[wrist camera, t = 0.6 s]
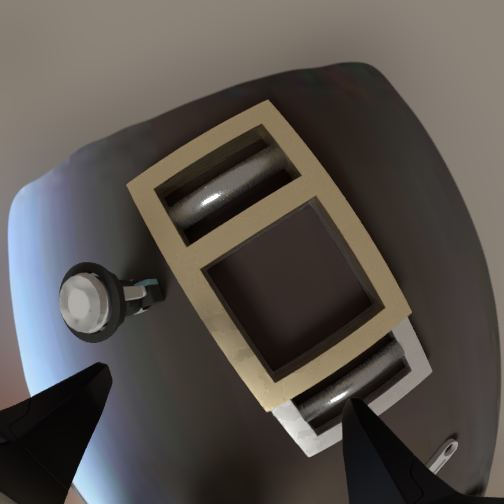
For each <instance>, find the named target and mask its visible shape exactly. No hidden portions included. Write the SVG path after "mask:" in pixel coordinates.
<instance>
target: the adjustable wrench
mask: <svg viewBox="0 0 504 504" xmlns="http://www.w3.org/2000/svg"><path fill="white" fill-rule="evenodd" d="M451 444H452V445H451ZM449 445H451V447H450V448H449V449H448V450H447V451H446V452H445V450H446V449H447V447H448V446H449ZM457 446H458V442H456V441H455V440H454V439H449V440H447V441H446V442H445V443H444V444H443V445H442V446H441V447H440V449H439V450H438V451H437V452H436V454H435V455H434V456H433V457H432V458H431V460H430V461H429V462H428V463H427V464H426V465H425V466H426V467H427V468H428V469H429V470H431V471H432V472H433V473H434V474H436V473H437V472H438V471H439V469H440V468H441V467H442V466H443V465H444V464H445V462H446V461H447V460H448V459H449V458H450V456H451V455H452V454H453V453H454V451H455V450H456V449H457Z"/></svg>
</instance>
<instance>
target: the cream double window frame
mask: <svg viewBox="0 0 504 504" xmlns="http://www.w3.org/2000/svg"><path fill="white" fill-rule="evenodd" d="M260 139H262V140H263V141H264V142H265V144H266V145H267V146H268V147H267V148H265V149H263V150H262V151H260V152H258V153H256V154H254V155H253V156H251V157H249V158H248V159H246V160H244V161H242V162H241V163H239V164H237V165H236V166H234V167H232V168H231V169H229V170H227V171H226V172H224V173H222V174H221V175H219V176H217V177H216V178H214V179H213V180H211V181H209V182H208V183H206V184H205V185H203V186H201V187H200V188H198V189H197V190H195V191H194V192H192V193H191V194H189V195H187V196H186V197H184V198H183V199H181V200H180V201H178V202H177V203H175V204H174V205H172V206H171V207H169V206H168V204H167V202H166V200H165V199H164V198H166V197H167V196H169V195H170V194H172V193H173V192H175V191H176V190H178V189H179V188H181V187H182V186H184V185H185V184H187V183H188V182H190V181H191V180H193V179H194V178H196V177H198V176H199V175H201V174H202V173H204V172H206V171H207V170H209V169H210V168H212V167H214V166H215V165H217V164H219V163H220V162H222V161H224V160H225V159H227V158H229V157H230V156H232V155H234V154H236V153H237V152H239V151H241V150H243V149H244V148H246V147H248V146H250V145H251V144H253V143H255V142H257V141H259V140H260ZM282 169H285V170H286V172H287V173H288V175H289V176H290V177H291V179H292V180H293V181H292V182H290V183H289V184H287V185H285V186H284V187H282V188H280V189H279V190H277V191H275V192H274V193H272V194H270V195H269V196H267V197H266V198H264V199H262V200H261V201H259V202H257V203H256V204H254V205H253V206H251V207H249V208H248V209H246V210H245V211H243V212H241V213H240V214H238V215H237V216H235V217H233V218H232V219H230V220H229V221H227V222H226V223H224V224H222V225H221V226H219V227H218V228H216V229H215V230H213V231H211V232H210V233H208V234H207V235H205V236H204V237H202V238H201V239H199V240H198V241H196V242H195V243H193V244H192V245H191V243H190V242H189V240H188V238H187V237H186V235H185V233H184V232H183V231H184V230H186V229H187V228H189V227H190V226H192V225H193V224H195V223H196V222H198V221H199V220H201V219H202V218H204V217H205V216H207V215H209V214H210V213H212V212H213V211H215V210H216V209H218V208H220V207H221V206H223V205H224V204H226V203H227V202H229V201H231V200H232V199H234V198H235V197H237V196H239V195H240V194H242V193H244V192H245V191H247V190H248V189H250V188H252V187H253V186H255V185H257V184H258V183H260V182H262V181H263V180H265V179H267V178H268V177H270V176H272V175H274V174H275V173H277V172H279V171H280V170H282ZM127 187H128V189H129V191H130V193H131V195H132V198H133V200H134V202H135V203H136V205H137V207H138V209H139V211H140V213H141V215H142V217H143V219H144V221H145V223H146V225H147V227H148V229H149V230H150V232H151V234H152V236H153V238H154V240H155V241H156V243H157V245H158V247H159V249H160V251H161V252H162V254H163V256H164V258H165V259H166V261H167V263H168V265H169V266H170V268H171V270H172V272H173V273H174V275H175V277H176V278H177V280H178V282H179V283H180V285H181V287H182V288H183V290H184V292H185V293H186V295H187V297H188V298H189V300H190V302H191V303H192V305H193V306H194V308H195V310H196V311H197V313H198V314H199V316H200V318H201V319H202V321H203V322H204V324H205V325H206V327H207V328H208V330H209V332H210V333H211V335H212V336H213V338H214V339H215V341H216V342H217V344H218V345H219V347H220V348H221V350H222V351H223V352H224V354H225V355H226V357H227V358H228V360H229V361H230V363H231V364H232V365H233V367H234V368H235V370H236V371H237V373H238V374H239V375H240V377H241V378H242V380H243V381H244V382H245V384H246V385H247V386H248V388H249V389H250V391H251V392H252V393H253V395H254V396H255V397H256V399H257V400H258V401H259V403H260V404H261V405H262V407H263V408H264V409H265V410H266V412H268V411H270V410H271V411H272V413H273V414H274V415H275V417H276V418H277V419H278V420H279V422H280V423H281V424H282V425H283V427H284V428H285V429H286V431H287V432H288V433H289V434H290V435H291V437H292V438H293V439H294V440H295V442H296V443H297V444H298V445H299V446H300V448H301V449H302V450H303V451H304V452H305V454H306V455H307V456H308V457H311V456H313V455H315V454H317V453H319V452H320V451H322V450H324V449H326V448H328V447H330V446H331V445H333V444H335V443H336V442H338V441H340V440H342V413H341V414H339V415H338V416H336V417H335V418H333V419H331V420H330V421H328V422H326V423H325V424H323V425H321V426H319V427H318V428H316V429H314V427H313V426H312V425H311V423H310V422H309V421H311V420H313V419H314V418H316V417H318V416H319V415H321V414H323V413H324V412H326V411H328V410H329V409H331V408H333V407H334V406H336V405H337V404H339V403H340V402H342V401H343V400H345V399H347V398H348V397H350V396H351V395H352V394H354V393H355V392H357V391H358V390H360V389H361V388H363V387H364V386H365V385H367V384H368V383H370V382H371V381H372V380H374V379H375V378H376V377H378V376H379V375H380V374H382V373H383V372H384V371H386V370H387V369H388V368H389V367H391V366H392V365H393V364H394V363H396V362H397V361H398V360H399V359H400V358H401V359H402V361H403V363H404V365H405V367H404V368H403V369H402V370H401V371H399V372H398V373H397V374H396V375H394V376H393V377H392V378H391V379H389V380H388V381H387V382H385V383H384V384H383V385H381V386H380V387H379V388H377V389H376V390H375V391H373V392H372V393H371V394H369V395H368V396H366V397H365V398H363V399H362V400H363V401H364V402H365V403H366V404H367V405H368V406H369V407H370V408H371V409H372V410H373V411H374V413H375V414H376V415H377V416H378V415H380V414H381V413H382V412H384V411H385V410H387V409H388V408H389V407H391V406H392V405H393V404H394V403H396V402H397V401H398V400H400V399H401V398H402V397H403V396H405V395H406V394H407V393H408V392H410V391H411V390H412V389H413V388H414V387H416V386H417V385H418V384H419V383H420V382H421V381H423V380H424V379H425V378H426V377H427V376H428V375H429V374H430V373H431V372H432V369H431V367H430V365H429V362H428V360H427V358H426V355H425V353H424V351H423V349H422V347H421V344H420V342H419V340H418V338H417V336H416V334H415V332H414V329H413V327H412V325H411V323H410V321H409V319H408V317H407V316H409V315H410V314H411V313H412V311H411V309H410V307H409V305H408V303H407V301H406V299H405V297H404V295H403V294H402V292H401V290H400V288H399V286H398V284H397V282H396V280H395V279H394V277H393V275H392V273H391V271H390V270H389V268H388V266H387V264H386V263H385V261H384V259H383V257H382V256H381V254H380V252H379V251H378V249H377V247H376V246H375V244H374V242H373V241H372V239H371V237H370V236H369V234H368V233H367V231H366V229H365V228H364V226H363V225H362V223H361V221H360V220H359V218H358V217H357V215H356V214H355V212H354V211H353V209H352V208H351V206H350V205H349V203H348V202H347V200H346V199H345V197H344V196H343V194H342V193H341V192H340V190H339V189H338V187H337V186H336V184H335V183H334V182H333V180H332V179H331V177H330V176H329V175H328V173H327V172H326V171H325V169H324V168H323V167H322V165H321V164H320V162H319V161H318V160H317V159H316V157H315V156H314V155H313V153H312V152H311V151H310V149H309V148H308V147H307V146H306V144H305V143H304V142H303V140H302V139H301V138H300V137H299V135H298V134H297V133H296V132H295V131H294V129H293V128H292V127H291V126H290V124H289V123H288V122H287V121H286V120H285V119H284V117H283V116H282V115H281V114H280V113H279V111H278V110H277V109H276V108H275V107H274V106H273V105H272V103H271V102H270V101H269V100H266V101H264V102H262V103H260V104H258V105H256V106H254V107H252V108H250V109H248V110H246V111H244V112H242V113H240V114H238V115H236V116H234V117H232V118H230V119H229V120H227V121H225V122H223V123H221V124H220V125H218V126H216V127H214V128H212V129H211V130H209V131H207V132H206V133H204V134H202V135H200V136H199V137H197V138H195V139H194V140H192V141H190V142H189V143H187V144H186V145H184V146H182V147H181V148H179V149H178V150H176V151H174V152H173V153H171V154H170V155H168V156H167V157H165V158H164V159H162V160H161V161H159V162H158V163H156V164H155V165H153V166H152V167H150V168H149V169H148V170H146V171H145V172H143V173H142V174H140V175H139V176H138V177H136V178H135V179H133V180H132V181H131V182H129V183H128V184H127ZM308 205H310V206H311V207H312V209H313V210H314V212H315V213H316V215H317V216H318V218H319V219H320V221H321V222H322V224H323V225H324V227H325V228H326V230H327V231H328V233H329V234H330V236H331V237H332V239H333V241H334V242H335V244H336V245H337V247H338V248H339V250H340V252H341V253H342V255H343V256H344V258H345V260H346V261H347V263H348V264H349V266H350V268H351V269H352V271H353V273H354V274H355V276H356V278H357V279H358V281H359V283H360V284H361V286H362V288H363V289H364V291H365V293H366V295H367V296H368V298H369V300H370V302H371V303H372V305H371V306H370V307H369V308H367V309H366V310H365V311H363V312H362V313H361V314H359V315H358V316H357V317H355V318H354V319H353V320H351V321H350V322H349V323H347V324H346V325H344V326H343V327H342V328H340V329H339V330H337V331H336V332H334V333H333V334H332V335H330V336H329V337H327V338H326V339H324V340H323V341H321V342H320V343H318V344H317V345H315V346H314V347H312V348H311V349H309V350H308V351H306V352H304V353H303V354H301V355H300V356H298V357H296V358H295V359H293V360H292V361H290V362H288V363H287V364H285V365H283V366H282V367H280V368H278V369H277V370H275V371H272V369H271V368H270V366H269V365H268V364H267V362H266V361H265V359H264V358H263V356H262V355H261V353H260V352H259V350H258V349H257V347H256V346H255V344H254V343H253V341H252V340H251V339H250V337H249V336H248V334H247V333H246V331H245V329H244V328H243V326H242V325H241V323H240V322H239V320H238V319H237V317H236V316H235V314H234V313H233V311H232V310H231V308H230V306H229V305H228V303H227V302H226V300H225V299H224V297H223V296H222V294H221V292H220V291H219V289H218V288H217V286H216V284H215V283H214V281H213V280H212V278H211V276H210V275H209V273H208V272H207V270H208V269H209V268H211V267H212V266H214V265H216V264H217V263H219V262H220V261H222V260H223V259H225V258H226V257H228V256H230V255H231V254H233V253H234V252H236V251H237V250H239V249H240V248H242V247H244V246H245V245H247V244H248V243H250V242H251V241H253V240H255V239H256V238H258V237H259V236H261V235H262V234H264V233H266V232H267V231H269V230H270V229H272V228H273V227H275V226H277V225H278V224H280V223H281V222H283V221H285V220H286V219H288V218H289V217H291V216H292V215H294V214H296V213H297V212H299V211H300V210H302V209H304V208H305V207H307V206H308ZM387 333H388V334H389V336H390V338H391V340H392V341H391V342H389V343H388V344H387V345H386V346H384V347H383V348H382V349H381V350H379V351H378V352H377V353H375V354H374V355H373V356H371V357H370V358H369V359H367V360H366V361H365V362H363V363H362V364H361V365H359V366H358V367H356V368H355V369H354V370H352V371H351V372H349V373H348V374H346V375H345V376H343V377H342V378H341V379H339V380H338V381H336V382H335V383H333V384H331V385H330V386H328V387H327V388H325V389H324V390H322V391H320V392H319V393H317V394H316V395H314V396H312V397H311V398H309V399H307V400H306V401H304V402H302V403H301V404H299V405H297V404H296V403H295V402H294V400H293V399H292V398H293V397H295V396H297V395H298V394H300V393H302V392H304V391H305V390H307V389H309V388H310V387H312V386H313V385H315V384H317V383H318V382H320V381H321V380H323V379H324V378H326V377H328V376H329V375H331V374H332V373H334V372H335V371H337V370H338V369H340V368H341V367H343V366H344V365H345V364H347V363H348V362H350V361H351V360H353V359H354V358H355V357H357V356H358V355H359V354H361V353H362V352H364V351H365V350H366V349H368V348H369V347H370V346H372V345H373V344H374V343H376V342H377V341H378V340H379V339H381V338H382V337H383V336H384V335H386V334H387Z"/></svg>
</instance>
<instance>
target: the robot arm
mask: <svg viewBox="0 0 504 504" xmlns="http://www.w3.org/2000/svg"><path fill="white" fill-rule="evenodd" d="M111 386H112V376H111V373H110V370H109V367H108V365H107V364H104V363H101V362H97V363H95V364H93V365H91V366H89V367H87V368H86V369H84V370H82V371H80V372H78V373H76V374H74V375H72V376H71V377H69V378H67V379H65V380H63V381H61V382H59V383H57V384H55V385H54V386H52V387H50V388H48V389H46V390H44V391H42V392H40V393H38V394H36V395H34V396H32V398H31V397H30V398H28V399H26V400H24V401H22V402H20V403H18V404H16V405H14V406H11V407H9V408H6V409H3V410H1V411H0V504H64V502H65V499H66V496H67V494H68V490H69V488H70V486H71V483H72V481H73V478H74V476H75V473H76V471H77V469H78V466H79V464H80V461H81V459H82V457H83V454H84V452H85V450H86V448H87V445H88V443H89V441H90V439H91V436H92V434H93V432H94V430H95V428H96V425H97V423H98V421H99V419H100V417H101V414H102V412H103V409H104V406H105V403H106V400H107V397H108V394H109V391H110V389H111ZM342 446H343V456H344V463H345V471H346V478H347V486H348V494H349V503H350V504H504V498H497V497H479V496H468V495H464V494H461V493H459V492H457V491H456V490H454V489H453V488H452V487H451V486H449V485H448V484H447V483H445V482H444V481H443V480H442V479H440V478H439V477H438V476H437V475H435V474H434V473H433V472H432V471H431V470H429V469H428V468H427V467H426V466H425V465H424V464H423V463H422V462H421V461H420V460H419V459H418V458H417V457H416V456H414V454H413V453H412V452H411V451H410V450H409V449H408V448H407V446H406V445H405V444H404V443H403V442H402V441H401V440H400V439H399V438H398V437H397V436H396V435H395V434H394V433H393V432H392V431H391V430H390V429H389V427H388V426H387V425H386V424H385V423H384V422H383V421H382V420H381V419H380V418H379V417H378V416H377V415H376V414H375V413H374V411H373V410H372V409H371V408H370V407H369V406H368V405H367V404H366V403H365V402H364V401H363V400H362V399H361V398H360V397H350V398H349V399H348V400H347V402H346V404H345V406H344V408H343V411H342Z"/></svg>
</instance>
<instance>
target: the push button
mask: <svg viewBox="0 0 504 504" xmlns="http://www.w3.org/2000/svg"><path fill="white" fill-rule="evenodd" d="M90 273H95V274H97V275H98V276H100V277H98V276H92V275H90ZM162 301H164V297H163V295H162V292H161V289H160V287H159V284H158V281H157V279H146V280H143V281H141V282H139V280H138V279H133V280H119V279H118V278H117V276H116V275H115V274H113V273H111V272H109V271H108V270H107V269H105V268H104V267H103V266H101V265H99V264H96V263H91V262H83V263H79V264H77V265H75V266H73V267H72V268H71V269H70V270H69V271H68V272H67V273H66V275H65V276H64V278H63V281H62V283H61V287H60V292H59V306H60V310H61V314H62V317H63V319H64V322H65V323H66V325H67V327H68V328H69V329H70V331H71V332H72V333H73V334H74V335H75V336H76V337H78V338H79V339H81V340H83V341H85V342H90V343H97V342H101V341H104V340H106V339H108V338H109V337H111V336H112V335H113V334H114V333H115V331H116V330H117V328H118V327H119V326H120V325H121V324H122V323H123V322H124V318H125V317H127V316H131V315H135V314H138V313H141V312H144V311H147V310H149V309H146V310H143V309H142V308H143V307H146V306H149V305H153V304H156V303H159V302H162ZM104 326H106V328H105V329H104V330H102V331H99V329H100V328H101V327H104Z"/></svg>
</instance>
